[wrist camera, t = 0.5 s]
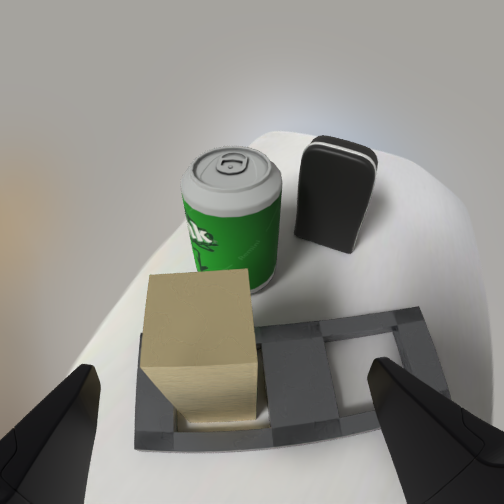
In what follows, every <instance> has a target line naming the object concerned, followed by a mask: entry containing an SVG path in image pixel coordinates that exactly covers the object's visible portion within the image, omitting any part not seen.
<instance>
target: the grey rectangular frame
mask: <svg viewBox="0 0 504 504" xmlns="http://www.w3.org/2000/svg"><path fill="white" fill-rule="evenodd" d="M387 332H393V334H394V337H395V340H396V343H397V347H398V350H399V353H400V356H401V359H402V363H403V366H404V369H405V370H407V371H408V372H410V373H411V374H413V375H414V376H416V377H417V378H419V379H420V380H422V381H423V382H425V383H426V384H428V385H429V386H431V387H432V388H433V389H435V390H436V391H438V392H439V393H441V394H442V395H444V396H445V397H447V398H448V399H450V400H451V397H450V393H449V390H448V387H447V384H446V380H445V377H444V374H443V371H442V368H441V365H440V362H439V359H438V356H437V353H436V350H435V347H434V345H433V342H432V339H431V336H430V334H429V331H428V328H427V326H426V323H425V320H424V318H423V315H422V313H421V310H420V308H419V306H418V307H412V308H406V309H400V310H394V311H388V312H382V313H375V314H368V315H361V316H354V317H346V318H339V319H331V320H322V321H314V322H305V323H295V324H285V325H274V326H263V327H254V333H255V342H256V350H258V349H261V352H262V361H263V370H264V378H265V387H266V396H267V404H268V413H269V421H270V428H265V429H254V430H241V431H223V432H177V409H176V408H175V407H174V406H173V404H172V403H171V402H170V401H169V400H168V399H167V398H166V397H165V396H164V395H163V393H162V392H161V391H160V390H159V389H158V388H157V387H156V385H155V384H154V383H153V382H152V381H151V380H150V378H149V377H148V376H147V375H146V374H145V372H144V371H143V370H142V369H141V368H140V359H141V347H142V336H143V333H141V335H140V345H139V357H138V370H137V385H136V404H135V438H134V449H135V450H138V451H144V452H162V453H225V452H243V451H256V450H267V449H276V448H285V447H292V446H299V445H306V444H312V443H318V442H324V441H329V440H335V439H340V438H345V437H349V436H354V435H358V434H362V433H367V432H371V431H375V430H379V429H381V427H380V424H379V422H378V419H377V416H376V412H375V410H373V411H369V412H365V413H360V414H356V415H351V416H346V417H341V418H339V413H338V408H337V403H336V398H335V393H334V388H333V383H332V378H331V373H330V369H329V364H328V359H327V354H326V350H325V345H324V342H330V341H337V340H344V339H351V338H358V337H364V336H370V335H376V334H382V333H387ZM451 401H452V400H451Z"/></svg>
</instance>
